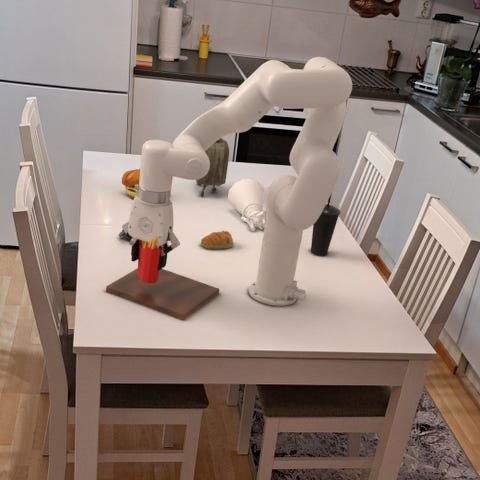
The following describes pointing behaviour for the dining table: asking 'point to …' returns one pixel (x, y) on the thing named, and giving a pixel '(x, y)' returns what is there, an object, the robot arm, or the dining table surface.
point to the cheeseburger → (131, 182)
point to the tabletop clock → (216, 165)
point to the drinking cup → (324, 229)
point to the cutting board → (165, 293)
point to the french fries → (148, 261)
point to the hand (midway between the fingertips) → (148, 263)
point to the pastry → (218, 240)
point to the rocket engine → (248, 201)
